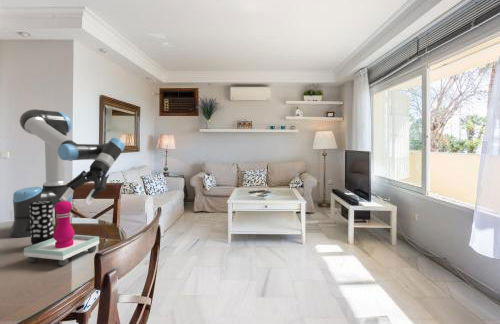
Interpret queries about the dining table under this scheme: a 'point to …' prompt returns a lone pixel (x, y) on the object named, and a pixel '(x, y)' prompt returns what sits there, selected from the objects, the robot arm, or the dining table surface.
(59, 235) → the pepper mill
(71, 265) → the dining table surface
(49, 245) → the rolling base
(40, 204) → the white-spotted black cylinder
